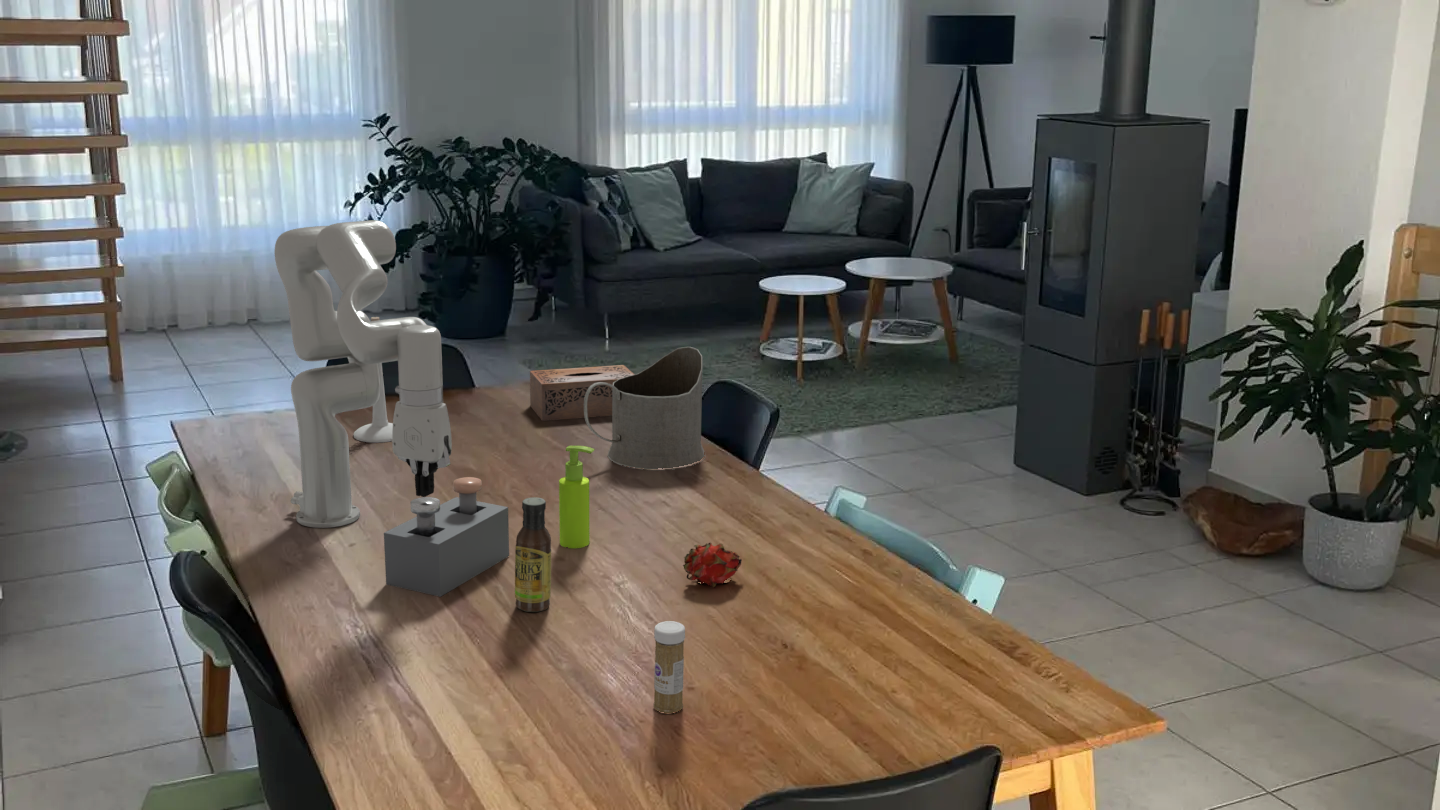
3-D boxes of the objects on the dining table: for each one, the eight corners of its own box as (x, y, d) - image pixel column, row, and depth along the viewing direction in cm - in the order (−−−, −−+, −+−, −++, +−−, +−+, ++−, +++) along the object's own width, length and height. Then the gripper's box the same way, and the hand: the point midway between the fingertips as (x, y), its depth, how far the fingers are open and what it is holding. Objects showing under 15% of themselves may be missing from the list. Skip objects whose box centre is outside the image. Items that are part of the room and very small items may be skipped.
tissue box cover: (542, 421, 355) (541, 384, 352) (530, 407, 368) (529, 370, 365) (638, 414, 363) (638, 377, 360) (623, 400, 376) (623, 364, 374)
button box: (386, 584, 250) (383, 532, 248) (457, 545, 270) (456, 497, 267) (440, 596, 246) (438, 544, 243) (509, 556, 265) (508, 507, 262)
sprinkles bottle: (647, 708, 207) (647, 626, 204) (667, 698, 211) (668, 617, 207) (669, 718, 205) (670, 635, 201) (689, 707, 208) (691, 625, 204)
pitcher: (724, 459, 327) (727, 356, 320) (612, 483, 308) (612, 375, 302) (668, 435, 345) (669, 338, 338) (558, 456, 326) (558, 354, 319)
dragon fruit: (676, 593, 253) (735, 593, 258) (694, 582, 246) (754, 582, 251) (671, 549, 256) (729, 549, 261) (690, 536, 249) (749, 537, 254)
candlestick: (400, 443, 333) (395, 321, 325) (347, 441, 333) (341, 320, 325) (412, 428, 346) (407, 311, 338) (361, 426, 346) (355, 309, 338)
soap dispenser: (589, 550, 269) (589, 452, 263) (555, 546, 270) (554, 449, 265) (598, 539, 274) (597, 443, 269) (564, 536, 276) (564, 441, 270)
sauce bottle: (508, 610, 241) (506, 503, 235) (526, 597, 246) (524, 492, 241) (541, 616, 238) (539, 508, 233) (558, 603, 244) (557, 497, 239)
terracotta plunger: (449, 520, 260) (447, 483, 258) (465, 512, 265) (464, 475, 263) (471, 525, 258) (470, 487, 256) (487, 517, 262) (486, 479, 260)
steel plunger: (406, 543, 249) (404, 503, 247) (423, 533, 253) (422, 495, 251) (429, 548, 247) (428, 508, 245) (447, 538, 251) (445, 500, 249)
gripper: (373, 395, 242) (378, 493, 247) (443, 406, 236) (446, 507, 241) (400, 385, 249) (404, 482, 254) (469, 396, 243) (471, 494, 248)
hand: (425, 494), depth 247 cm, fingers closed
